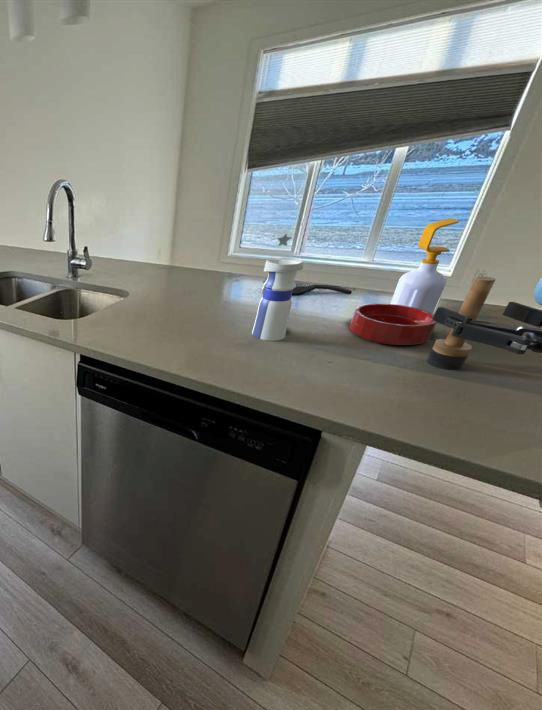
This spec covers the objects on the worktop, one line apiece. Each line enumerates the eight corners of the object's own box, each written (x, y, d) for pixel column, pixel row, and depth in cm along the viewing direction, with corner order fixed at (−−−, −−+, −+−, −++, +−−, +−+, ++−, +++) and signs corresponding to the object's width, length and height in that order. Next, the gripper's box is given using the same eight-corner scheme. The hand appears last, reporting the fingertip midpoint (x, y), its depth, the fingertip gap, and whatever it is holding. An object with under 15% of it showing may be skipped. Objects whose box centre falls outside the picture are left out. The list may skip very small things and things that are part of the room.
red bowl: (424, 328, 102) (433, 307, 99) (431, 352, 91) (441, 330, 89) (349, 319, 110) (355, 300, 107) (347, 341, 100) (355, 320, 97)
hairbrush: (357, 288, 122) (265, 282, 130) (353, 300, 124) (262, 293, 132) (350, 281, 129) (263, 275, 137) (346, 292, 130) (260, 286, 139)
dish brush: (459, 360, 88) (501, 275, 78) (464, 371, 84) (510, 283, 74) (424, 356, 90) (462, 273, 81) (428, 366, 86) (468, 281, 77)
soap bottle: (437, 322, 104) (483, 222, 92) (395, 321, 107) (434, 223, 94) (420, 310, 112) (459, 215, 99) (380, 309, 114) (414, 217, 102)
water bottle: (242, 331, 109) (260, 235, 97) (270, 326, 111) (291, 231, 98) (263, 343, 102) (286, 241, 90) (293, 337, 103) (319, 236, 91)
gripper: (505, 384, 65) (400, 332, 83) (670, 373, 64) (527, 323, 82) (530, 341, 61) (415, 297, 79) (706, 329, 60) (547, 287, 78)
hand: (471, 310), depth 81 cm, fingers open, 13 cm apart
